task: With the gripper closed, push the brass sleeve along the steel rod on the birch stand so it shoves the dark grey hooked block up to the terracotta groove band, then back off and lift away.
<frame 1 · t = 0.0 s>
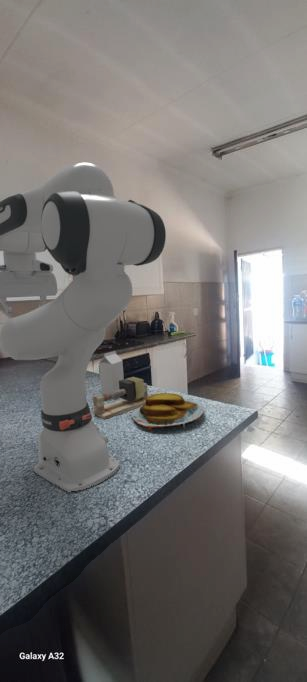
hand: (25, 311, 90), 39 cm above the countertop, tool pointing down, fingers open, 8 cm apart
food on plate: (168, 418, 102), on the countertop
dark grey hooked block: (126, 390, 113), point 6 cm above the countertop, slide at 0.0 cm
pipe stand: (122, 407, 112), on the countertop
milk carton: (113, 396, 126), on the countertop
sleeve: (134, 387, 115), point 6 cm above the countertop, slide at 0.0 cm
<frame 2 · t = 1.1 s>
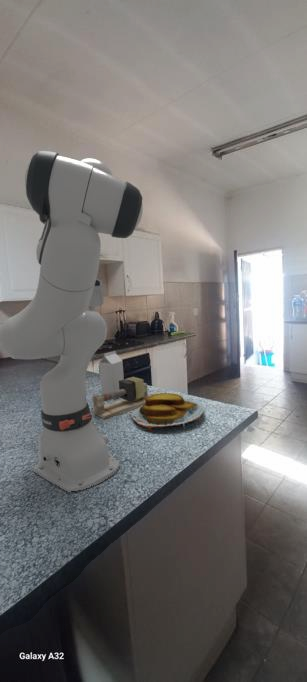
hand: (77, 319, 107), 35 cm above the countertop, tool pointing down, fingers open, 8 cm apart
nothing on the countertop moved.
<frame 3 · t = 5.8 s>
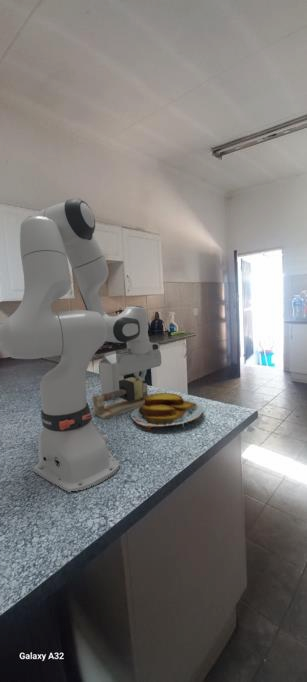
hand: (140, 381, 116), 8 cm above the countertop, tool pointing down, fingers closed
sleeve: (133, 388, 115), point 6 cm above the countertop, slide at 0.7 cm, touching gripper
everything else where it was.
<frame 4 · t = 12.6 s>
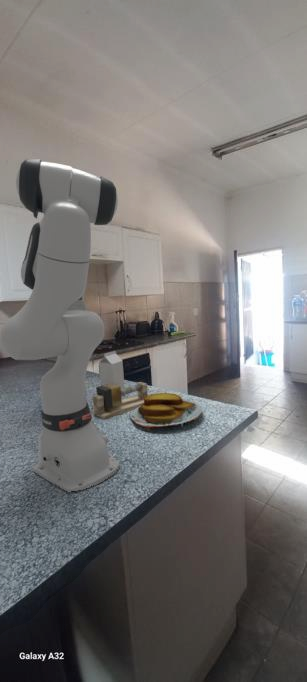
hand: (63, 333, 114), 29 cm above the countertop, tool pointing down, fingers closed
dark grey hooked block: (104, 397, 106), point 6 cm above the countertop, slide at 9.9 cm, touching sleeve
sleeve: (111, 394, 108), point 6 cm above the countertop, slide at 10.7 cm, touching dark grey hooked block
everything else where it was.
at the end: dark grey hooked block slide at 9.9 cm; sleeve moved 10.7 cm from its start; the gripper is holding nothing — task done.
